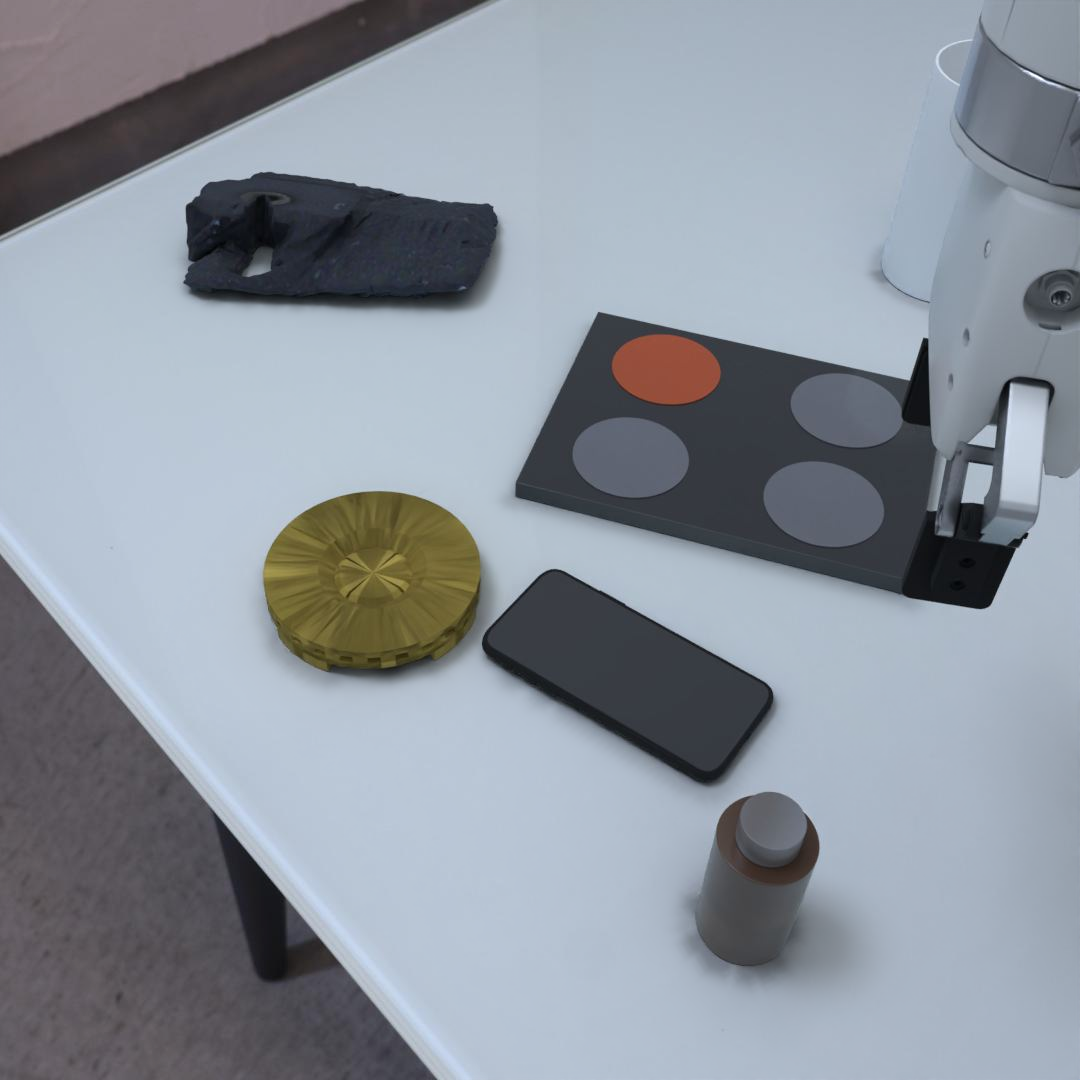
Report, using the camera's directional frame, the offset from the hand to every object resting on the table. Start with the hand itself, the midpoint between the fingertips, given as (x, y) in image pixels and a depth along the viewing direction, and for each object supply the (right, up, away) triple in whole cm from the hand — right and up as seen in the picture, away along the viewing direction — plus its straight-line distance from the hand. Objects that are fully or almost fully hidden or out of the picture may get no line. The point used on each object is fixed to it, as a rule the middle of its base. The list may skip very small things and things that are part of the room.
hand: (940, 504), depth 51 cm
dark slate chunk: (-30, +20, +46) cm, 58 cm away
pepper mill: (-6, -19, +10) cm, 23 cm away
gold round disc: (-25, -5, +23) cm, 34 cm away
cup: (+14, +18, +46) cm, 52 cm away
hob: (-3, +5, +32) cm, 33 cm away
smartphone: (-11, -9, +20) cm, 24 cm away
